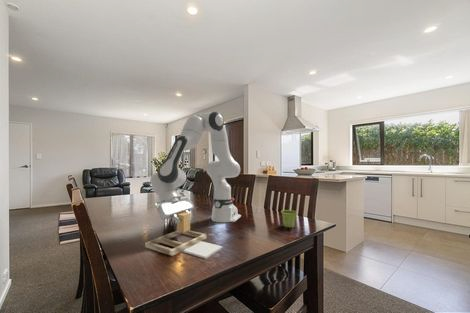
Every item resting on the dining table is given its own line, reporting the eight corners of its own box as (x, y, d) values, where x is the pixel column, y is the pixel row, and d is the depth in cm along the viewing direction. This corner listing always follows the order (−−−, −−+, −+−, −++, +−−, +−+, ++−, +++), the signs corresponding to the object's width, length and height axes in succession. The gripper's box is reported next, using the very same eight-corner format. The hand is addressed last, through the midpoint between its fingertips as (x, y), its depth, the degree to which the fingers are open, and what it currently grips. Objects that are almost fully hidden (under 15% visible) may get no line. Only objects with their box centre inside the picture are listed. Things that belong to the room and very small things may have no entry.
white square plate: (201, 242, 101) (201, 241, 101) (222, 248, 95) (222, 246, 95) (183, 252, 91) (183, 250, 91) (205, 258, 85) (205, 256, 85)
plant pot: (295, 224, 132) (295, 210, 132) (298, 229, 122) (298, 214, 122) (280, 223, 132) (280, 209, 133) (282, 228, 123) (282, 213, 123)
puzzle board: (181, 232, 116) (181, 228, 116) (206, 238, 107) (206, 234, 107) (145, 247, 96) (145, 242, 96) (172, 255, 87) (172, 250, 87)
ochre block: (183, 228, 108) (183, 212, 108) (190, 229, 106) (190, 213, 106) (176, 230, 104) (176, 214, 104) (183, 232, 102) (183, 215, 102)
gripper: (156, 198, 99) (171, 222, 95) (187, 192, 117) (201, 212, 112) (150, 207, 102) (164, 231, 97) (181, 199, 119) (194, 219, 114)
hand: (184, 221), depth 105 cm, fingers closed on ochre block, 4 cm apart
